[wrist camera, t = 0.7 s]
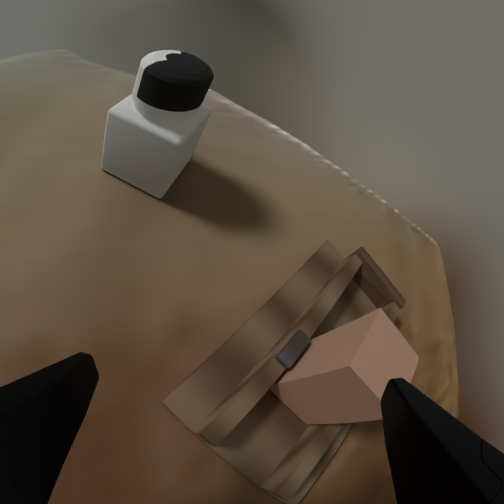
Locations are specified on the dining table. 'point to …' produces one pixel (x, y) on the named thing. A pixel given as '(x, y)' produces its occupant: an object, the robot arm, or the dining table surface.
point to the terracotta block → (347, 372)
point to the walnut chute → (272, 366)
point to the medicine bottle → (158, 121)
